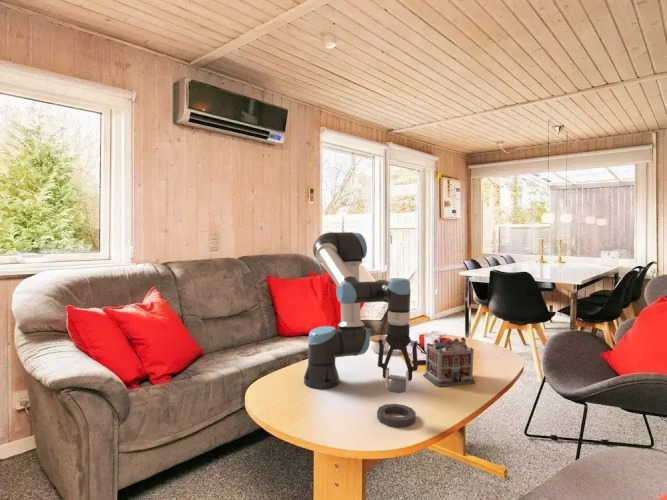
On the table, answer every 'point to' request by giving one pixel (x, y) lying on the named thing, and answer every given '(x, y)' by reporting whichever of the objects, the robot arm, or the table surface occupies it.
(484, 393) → the table surface
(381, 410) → the faceted gray torus
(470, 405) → the table surface
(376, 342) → the lidded jar
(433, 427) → the table surface
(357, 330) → the robot arm
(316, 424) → the table surface
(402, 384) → the cap
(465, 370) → the model building
